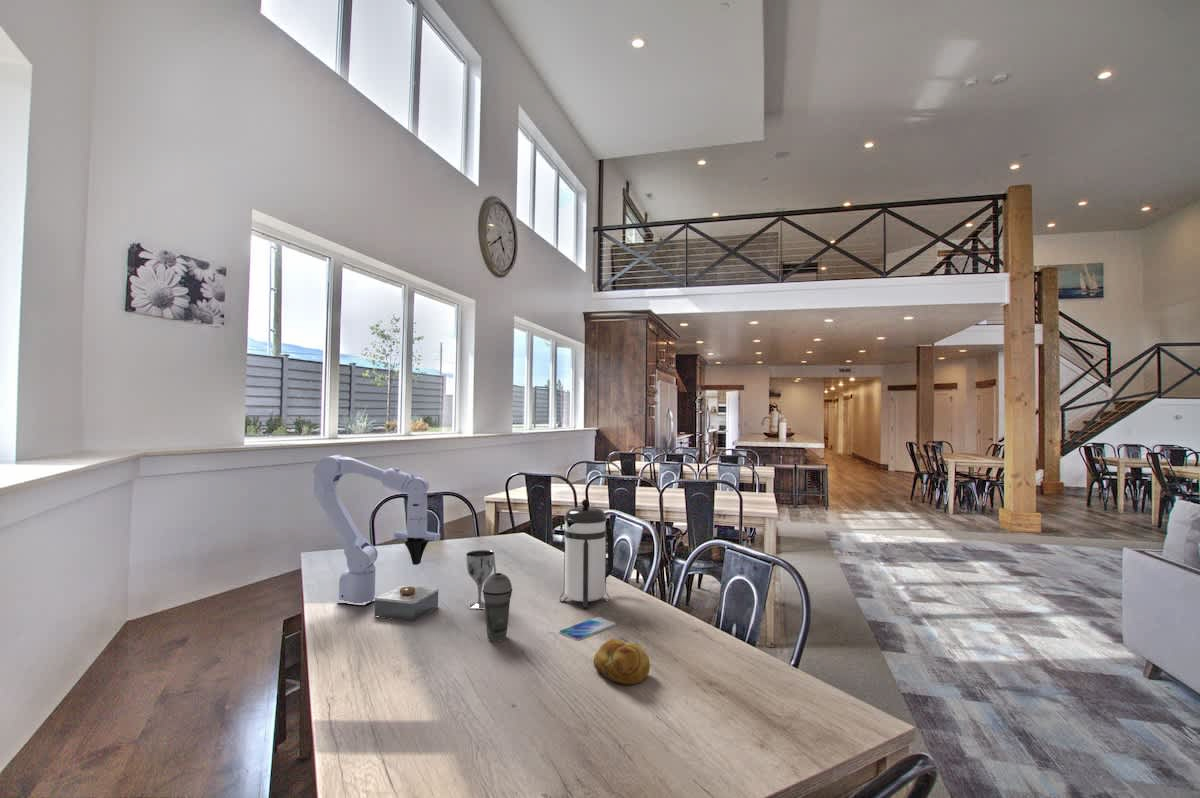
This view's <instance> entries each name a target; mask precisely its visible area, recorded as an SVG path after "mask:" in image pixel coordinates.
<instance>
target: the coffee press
mask: <svg viewBox="0 0 1200 798" xmlns="http://www.w3.org/2000/svg"><path fill="white" fill-rule="evenodd" d="M581 505H582V506H577V507H573V508H570V509H568V510H567V512H566V513H565V515H564V516H563V520H564V525H565V526H564V527H565V528H564V531H563V532H564V535H563V536H564V540H563V544H564V545H563V550H564V551H563V553H564V554H563V555H564V556H563V571H564V590H563V592H562V593H561V595H560V596H559V601H560V602H561V600H563V601H564V602H565V601H566V600H567V599H569V600H573V601H575V602H582V609H583V610H588V609H589V602H594V601H598V600H600V599H603V600H604V601H605V602H607V601H606V600H608V602H610V601H611V598H610V595H609V594H608V593H607V578H608V577H609V576H610V575H611V573H612V571H613V569H614V561H615V559H614V556H615V555H614V553H615V552H614V549H615V548H614V544H615V543H614V542H615V540H614V532H613V530H612V528H611V527H610V526H607V525H606V522H607V520H608V517H607V515H606V513H605V512H604V511H603V509H601V508H598V507H593V506H589V505H590V501H589V500H588V499H586V498H585V499H582V501H581ZM605 593H606V595H607V597H608V599H606V598H605V597H604V596H605ZM563 595H565V598H564V599H561V598H562V596H563Z"/></svg>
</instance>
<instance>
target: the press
mask: <svg viewBox="0 0 1200 798" xmlns="http://www.w3.org/2000/svg"><path fill="white" fill-rule="evenodd" d="M403 587H415V593H413V594H409V595H403V594H400V589H401V588H403ZM377 596H378V597H376V598H375V601H374V617H375V616H379V617H378V618H380V617H385V618H384V619H388V618H392V619H391V620H397V619H399V620H398V621H408V622H415V621H417V620H418V619H420V618H422V617H423V616H425V615H426V613H427V614H429V613H430V612H432V611H433V610H435V609H437V608H438V607H439V588H437V587H436V588H434V587H426V586H425V587H424V586H416V585H415V586H413V585H403V584H402V585H398V586H397V587H395V588H393V589H391V590H389V591H387V592H384V593H382V594H380V595H377ZM437 606H438V607H437ZM436 607H437V608H436ZM434 608H435V609H434ZM432 609H433V610H432ZM431 610H432V611H431ZM429 611H430V612H429ZM424 614H425V615H424ZM421 616H422V617H421ZM419 617H420V618H419ZM416 619H417V620H416ZM414 620H415V621H414Z"/></svg>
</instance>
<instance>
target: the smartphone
mask: <svg viewBox="0 0 1200 798" xmlns="http://www.w3.org/2000/svg"><path fill="white" fill-rule="evenodd" d="M616 625H617V626H618V623H617V622H615V621H612V620H609V619H607V618H605V617H602V616H596V617H592V618H591V619H587V620H585V621H582V622H579V623H577V624H573V625H572V626H571V625H570V626H569V627H566V628H564V629H561V630H559V631H558V634H559V633H560V634H559V635H561V634H562V636H564V637H566V636H567V638H569V639H571V638H572V639H571V640H574V641H577V640H578V641H582V640H584V639H587V638H589V637H591V635H592V636H594V635H596V633H597V634H598V633H601V631H602V632H605V631H607V630H609V629H612V628H614V627H617V626H616ZM586 637H587V638H586ZM581 639H582V640H581Z"/></svg>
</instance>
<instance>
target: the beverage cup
mask: <svg viewBox="0 0 1200 798" xmlns="http://www.w3.org/2000/svg"><path fill="white" fill-rule="evenodd" d="M496 567H497V566H496V557H495V554H494V555H493V573H491V574H490V576H489V577H488V578H487V579H486V580H485V582H484V583H483V586H482V596H483V599H484V602H485V610H484V611H485V624H486V625H485V626H486V634H487V640H488V639H489V640H488V641H490V640H491V641H490V642H500V641H499V640H502V641H504V640H506V639H505V638H507V633H508V625H509V615H510V614H509V613H510V607H511V606H510V603H511V597H512V593H513V588H512V587H513V586H512V582H511V580H510V578H509V577H508V576H507V575H506V574H504V573H501V572H497V569H496ZM503 639H504V640H503Z"/></svg>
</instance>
